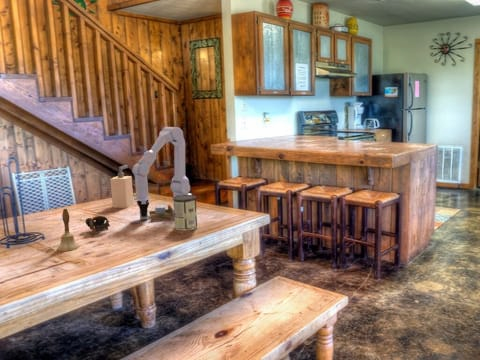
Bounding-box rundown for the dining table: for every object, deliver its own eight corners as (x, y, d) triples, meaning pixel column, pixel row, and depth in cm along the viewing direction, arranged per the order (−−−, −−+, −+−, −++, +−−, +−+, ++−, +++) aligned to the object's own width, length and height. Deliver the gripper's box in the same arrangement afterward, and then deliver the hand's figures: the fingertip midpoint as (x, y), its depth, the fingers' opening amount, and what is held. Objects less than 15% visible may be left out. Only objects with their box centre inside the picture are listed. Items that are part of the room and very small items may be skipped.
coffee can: (182, 223, 206) (180, 194, 203) (201, 225, 202) (200, 195, 199) (170, 229, 197) (168, 198, 194) (189, 231, 192) (188, 200, 190)
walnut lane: (170, 214, 223) (170, 205, 222) (173, 219, 215) (172, 209, 214) (149, 216, 220) (148, 207, 220) (151, 221, 212) (150, 211, 211)
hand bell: (72, 243, 181) (68, 205, 179) (83, 247, 176) (79, 208, 173) (53, 248, 175) (48, 209, 172) (64, 252, 170) (59, 212, 167)
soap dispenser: (126, 207, 241) (123, 168, 238) (112, 207, 243) (109, 168, 239) (136, 202, 254) (134, 164, 250) (123, 202, 255) (120, 164, 252)
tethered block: (164, 216, 220) (164, 205, 219) (165, 218, 216) (165, 207, 215) (139, 217, 217) (139, 206, 216) (140, 219, 213) (140, 208, 212)
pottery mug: (114, 229, 202) (113, 216, 197) (104, 243, 195) (102, 231, 189) (91, 222, 203) (89, 209, 198) (79, 236, 196) (77, 223, 191)
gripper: (132, 186, 219) (134, 212, 221) (134, 191, 205) (136, 220, 207) (147, 185, 220) (148, 211, 223) (149, 190, 207) (151, 218, 209)
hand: (143, 215), depth 215 cm, fingers closed on tethered block, 3 cm apart
